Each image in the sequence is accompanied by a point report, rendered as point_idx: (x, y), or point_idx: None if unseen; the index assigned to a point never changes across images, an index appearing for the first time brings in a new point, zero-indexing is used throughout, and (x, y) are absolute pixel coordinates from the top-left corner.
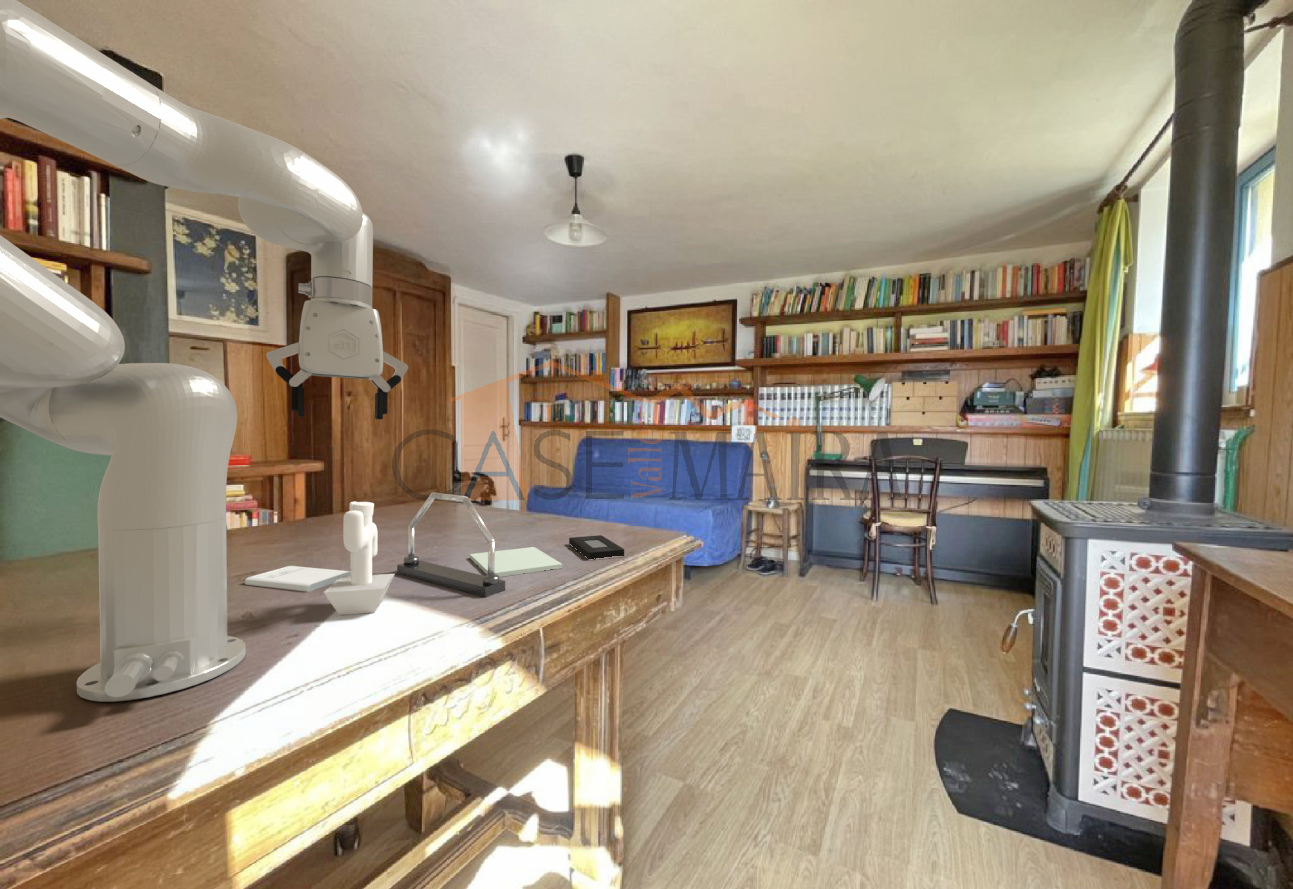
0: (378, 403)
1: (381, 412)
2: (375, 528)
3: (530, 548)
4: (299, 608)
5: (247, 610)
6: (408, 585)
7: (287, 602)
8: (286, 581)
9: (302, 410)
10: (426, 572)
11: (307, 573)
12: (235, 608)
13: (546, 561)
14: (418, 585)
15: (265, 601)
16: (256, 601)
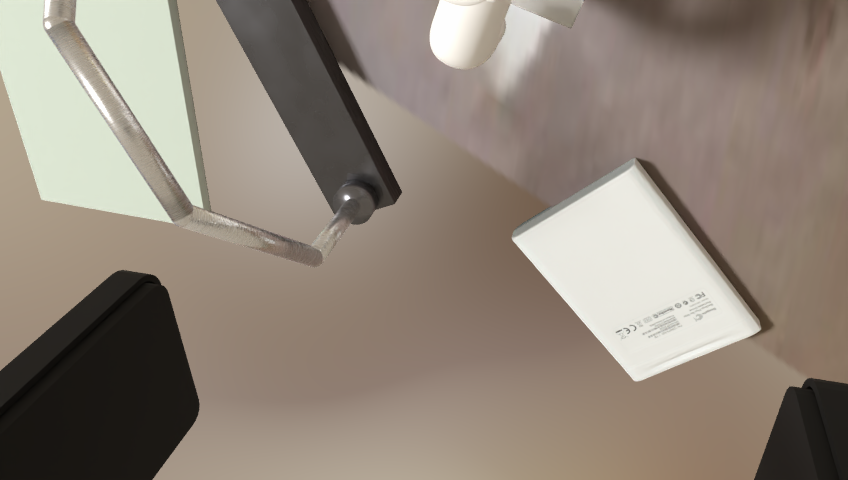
0: (58, 368)
1: (98, 300)
2: (436, 11)
3: (51, 189)
4: (686, 9)
5: (809, 75)
6: (389, 59)
7: (702, 89)
8: (678, 235)
9: (819, 425)
10: (330, 77)
11: (615, 280)
12: (831, 114)
13: (12, 28)
14: (364, 42)
15: (749, 134)
16: (769, 148)
